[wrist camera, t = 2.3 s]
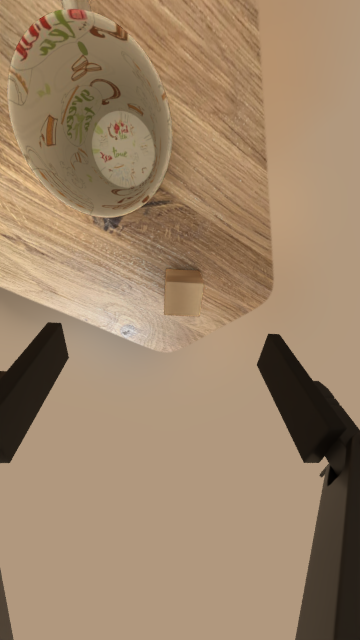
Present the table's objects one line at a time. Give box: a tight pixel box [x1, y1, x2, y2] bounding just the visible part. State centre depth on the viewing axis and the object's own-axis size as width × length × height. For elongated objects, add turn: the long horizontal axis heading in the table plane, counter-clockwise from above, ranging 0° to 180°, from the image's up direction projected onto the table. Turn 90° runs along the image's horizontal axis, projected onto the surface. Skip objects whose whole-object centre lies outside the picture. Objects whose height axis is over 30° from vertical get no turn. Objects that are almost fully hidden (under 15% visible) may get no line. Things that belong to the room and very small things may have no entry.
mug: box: [7, 0, 172, 218], centre depth 15 cm, size 8×13×10 cm, turn 12°
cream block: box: [164, 269, 204, 316], centre depth 26 cm, size 4×4×4 cm
